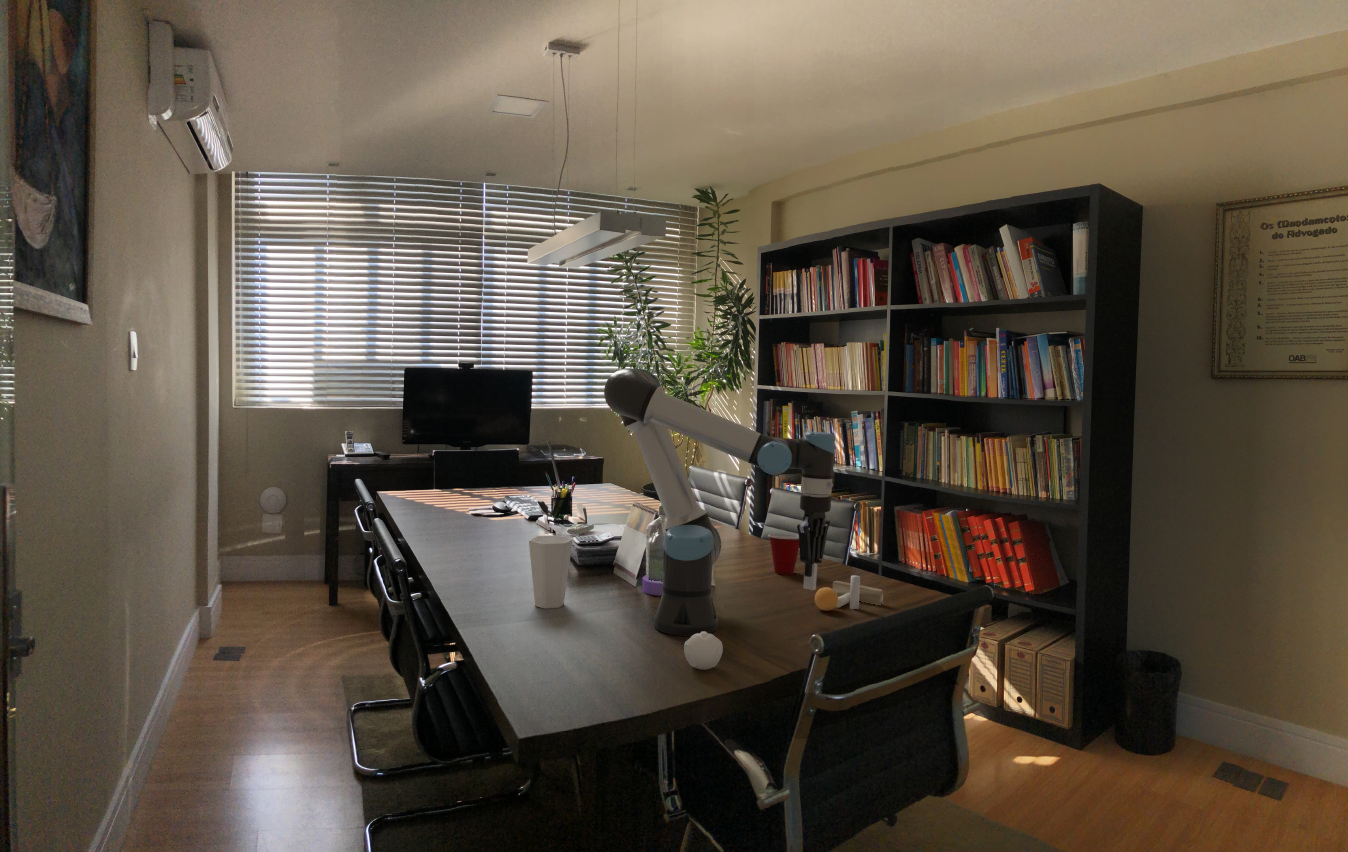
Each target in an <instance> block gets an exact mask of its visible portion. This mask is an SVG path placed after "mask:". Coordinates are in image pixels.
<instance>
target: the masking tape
mask: <svg viewBox="0 0 1348 852" xmlns="http://www.w3.org/2000/svg"><path fill="white" fill-rule="evenodd" d="M647 575H648V574H646V575H644V576H643V577H642V592H644V593H645V594H648V595H652V596H659V597H660V596H661V597H662V593H663V582H661V581H654V580H652V581H651V580H648V576H647Z"/></svg>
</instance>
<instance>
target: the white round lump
mask: <svg viewBox="0 0 1348 852" xmlns="http://www.w3.org/2000/svg"><path fill="white" fill-rule="evenodd" d="M723 650H724V647H723V643H722V641H721V640H720V639H719V638H717V637H716V636H715V635H714V634H713V633H709V634H708V633H707V632H705V631H702V632H701V633H700V634H699V633H697V634H694V635H693V636H690V638H689V639H687V640H686V641H684V645H683V655H684V656H685V657H684V658H685V659H686V661H687V663H688V664H689V665H690V666H691V667H693V668H695V669H698V670H701V671H702V670H703V671H706V670H710V669H713V668H714V667H716V666H717V665H718V664H719V662H720V661H721V660H720V659H722V658H721V657H722V655H723Z"/></svg>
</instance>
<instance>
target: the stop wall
mask: <svg viewBox="0 0 1348 852" xmlns="http://www.w3.org/2000/svg"><path fill="white" fill-rule="evenodd" d="M850 586H851V582H845V581H841V580H834V581H833V582H832V589H833V590H834V591H835V592H836V593H837V596H838V597H840V596H842V595H844V594H846V593H850ZM859 601H861V602H860V603H864V602H865V604H868V603H870V605H873V604H875V605H874V606H878V605H880V606H882V605H883V604H884V589H880V588H876V587H871V586H866V585H862V584H860V594H859ZM881 604H882V605H881Z"/></svg>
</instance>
